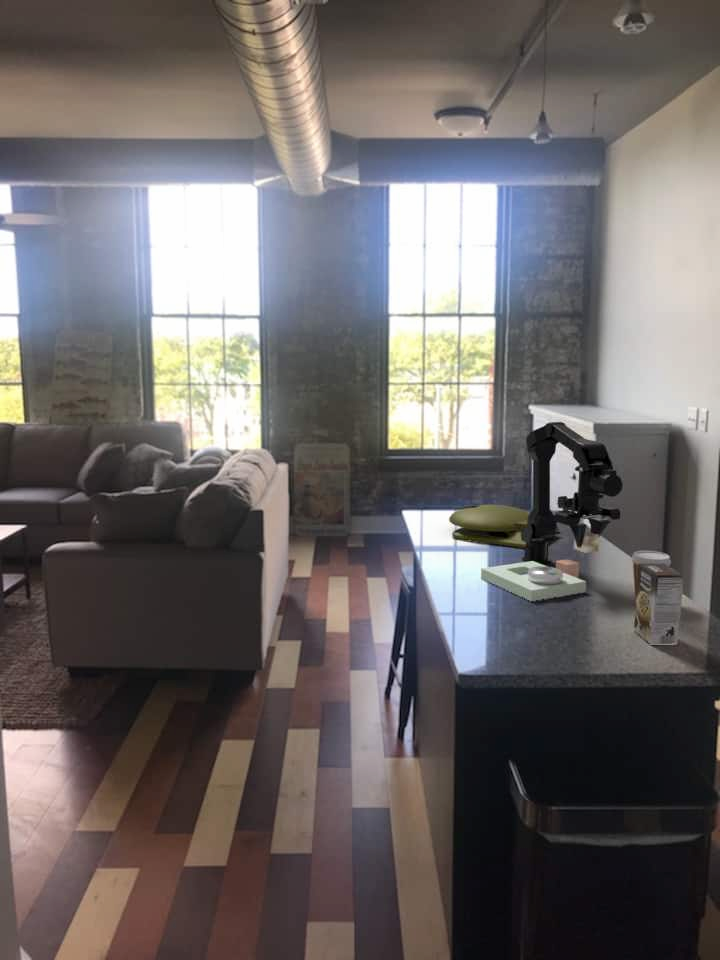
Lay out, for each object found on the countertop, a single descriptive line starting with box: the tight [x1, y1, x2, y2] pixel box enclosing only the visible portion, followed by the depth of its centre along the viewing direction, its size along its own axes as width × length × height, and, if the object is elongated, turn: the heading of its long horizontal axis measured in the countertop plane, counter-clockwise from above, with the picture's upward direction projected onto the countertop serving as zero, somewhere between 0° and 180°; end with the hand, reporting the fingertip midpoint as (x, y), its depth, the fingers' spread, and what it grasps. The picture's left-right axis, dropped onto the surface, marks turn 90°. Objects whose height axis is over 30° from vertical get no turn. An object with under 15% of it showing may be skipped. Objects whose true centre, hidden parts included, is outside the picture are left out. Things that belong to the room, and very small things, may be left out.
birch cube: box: [573, 530, 600, 554], centre depth 206 cm, size 4×4×4 cm
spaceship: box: [448, 504, 560, 549], centre depth 265 cm, size 35×31×10 cm
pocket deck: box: [480, 561, 587, 602], centre depth 207 cm, size 18×22×3 cm
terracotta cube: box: [555, 558, 580, 579], centre depth 214 cm, size 4×4×4 cm
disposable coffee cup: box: [631, 550, 672, 600], centre depth 194 cm, size 10×10×12 cm
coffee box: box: [633, 563, 685, 645], centre depth 168 cm, size 9×6×16 cm
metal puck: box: [528, 566, 563, 585], centre depth 201 cm, size 9×9×2 cm
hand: (585, 546), depth 206 cm, fingers closed on birch cube, 4 cm apart
